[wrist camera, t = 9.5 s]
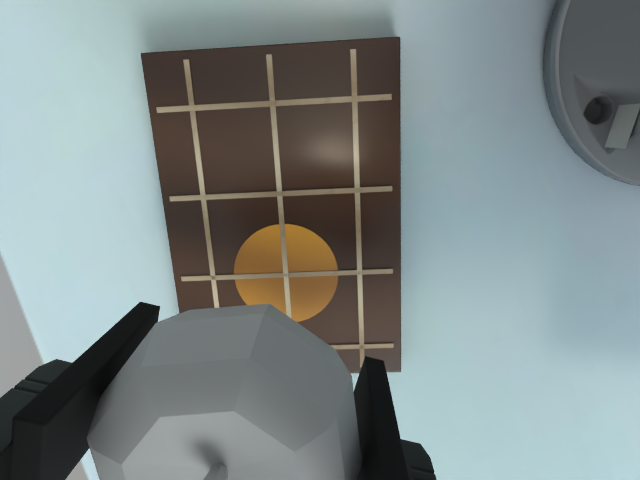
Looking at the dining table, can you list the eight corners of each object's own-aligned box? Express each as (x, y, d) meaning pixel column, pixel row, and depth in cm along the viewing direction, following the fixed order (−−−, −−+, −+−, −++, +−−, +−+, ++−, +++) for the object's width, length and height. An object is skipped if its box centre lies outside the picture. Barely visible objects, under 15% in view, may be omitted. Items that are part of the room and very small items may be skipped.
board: (149, 56, 24) (139, 52, 23) (397, 40, 23) (400, 35, 22) (194, 367, 29) (188, 378, 28) (398, 362, 28) (401, 373, 27)
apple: (141, 413, 17) (30, 579, 11) (176, 235, 15) (63, 313, 9) (328, 461, 18) (324, 649, 11) (386, 294, 16) (422, 409, 9)
